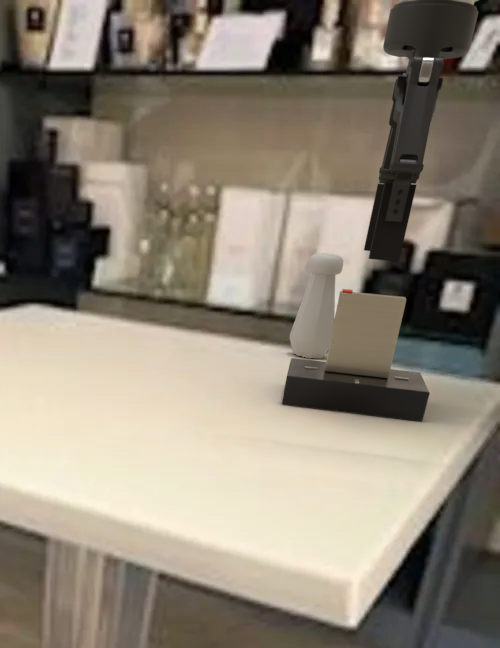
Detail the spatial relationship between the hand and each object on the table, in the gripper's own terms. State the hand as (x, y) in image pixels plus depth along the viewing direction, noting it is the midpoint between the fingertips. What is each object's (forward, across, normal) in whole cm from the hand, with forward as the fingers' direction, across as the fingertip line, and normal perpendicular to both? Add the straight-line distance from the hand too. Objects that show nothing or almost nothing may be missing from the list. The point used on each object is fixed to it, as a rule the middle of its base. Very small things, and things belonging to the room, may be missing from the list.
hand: (379, 255), depth 88 cm
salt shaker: (+15, -27, -5) cm, 31 cm away
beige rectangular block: (+12, 0, 0) cm, 12 cm away
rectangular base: (+15, 0, 0) cm, 15 cm away
